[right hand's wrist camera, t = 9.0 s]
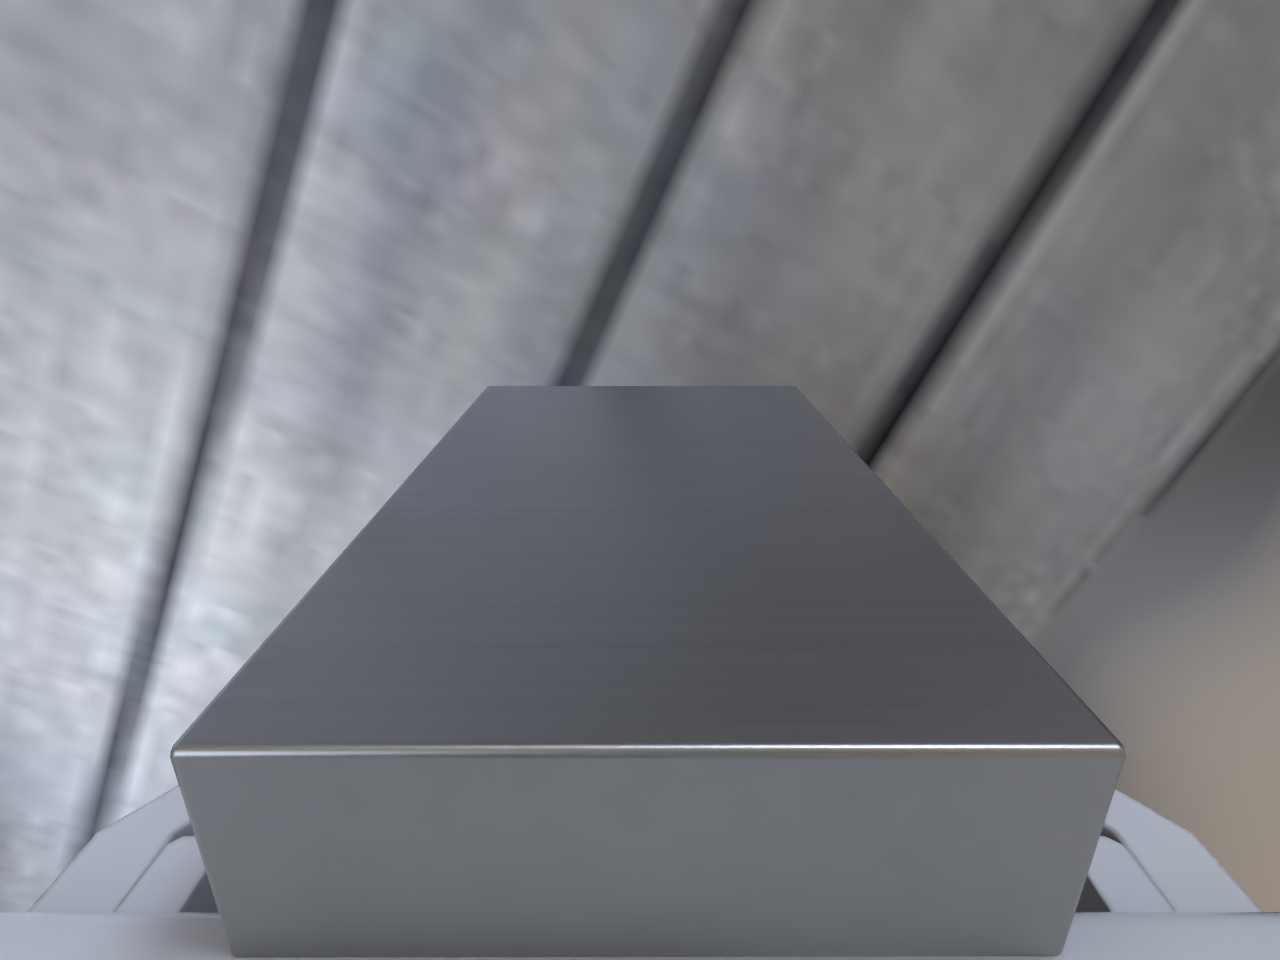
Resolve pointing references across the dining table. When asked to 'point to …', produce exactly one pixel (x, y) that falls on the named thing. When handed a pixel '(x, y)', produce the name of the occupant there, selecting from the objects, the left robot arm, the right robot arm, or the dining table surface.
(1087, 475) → the dining table surface
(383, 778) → the box
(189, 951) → the right robot arm
